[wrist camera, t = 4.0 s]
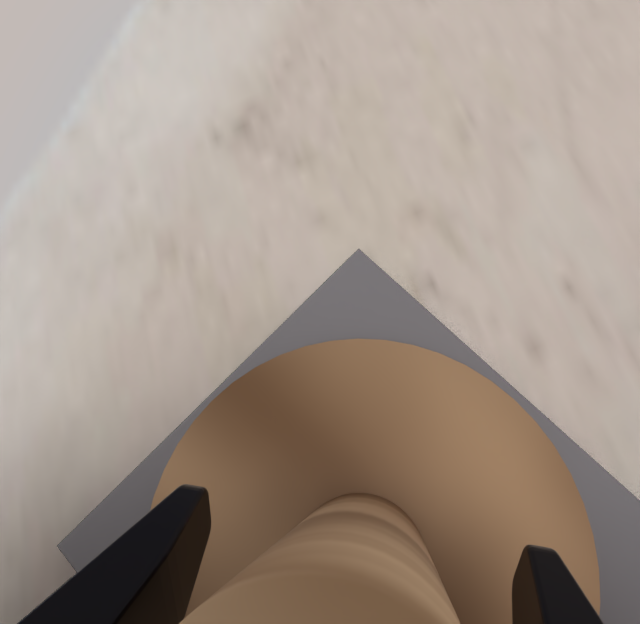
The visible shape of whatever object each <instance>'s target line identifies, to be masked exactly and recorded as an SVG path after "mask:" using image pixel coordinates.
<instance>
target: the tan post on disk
mask: <svg viewBox="0 0 640 624" xmlns="http://www.w3.org/2000/svg"><path fill="white" fill-rule="evenodd" d="M183 484H190V485H195V486H201V487H205V488H206V489H207V491H208V494H209V502H210V512H211V531H210V535H209V539H208V542H207V545H206V549H205V552H204V555H203V558H202V562H201V565H200V568H199V572H198V575H197V578H196V581H195V585H194V588H193V591H192V595H191V598H190V601H189V604H188V608H187V611H186V614H185V617H184V619H183V620H182V621H181V622H180V623H179V624H513V623H512V582H513V577H514V574H515V571H516V568H517V565H518V562H519V560H520V557H521V554H522V551H523V549H524V547H525V546H526V545H528V544H531V545H537V546H543V547H548V548H552V549H554V550H555V551H556V552H557V553H558V554H559V555H560V557H561V559H562V560H563V562H564V563H565V565H566V566H567V568H568V569H569V571H570V572H571V574H572V575H573V577H574V578H575V580H576V581H577V583H578V585H579V586H580V588H581V589H582V591H583V592H584V594H585V595H586V597H587V598H588V600H589V601H590V603H591V604H592V606H593V608H594V609H595V611H596V612H597V614H598V615H599V614H600V580H599V566H598V560H597V554H596V548H595V542H594V536H593V532H592V529H591V526H590V522H589V519H588V516H587V512H586V509H585V506H584V503H583V500H582V498H581V496H580V494H579V491H578V489H577V487H576V484H575V482H574V480H573V478H572V475H571V473H570V471H569V470H568V468H567V466H566V465H565V463H564V461H563V460H562V458H561V456H560V454H559V453H558V451H557V449H556V448H555V446H554V445H553V443H552V442H551V441H550V439H549V438H548V437H547V436H546V434H545V433H544V432H543V430H542V429H541V428H540V426H539V425H538V424H537V423H536V421H535V420H534V419H533V418H532V417H531V416H530V415H529V414H528V413H527V412H526V411H525V410H524V409H523V408H522V407H521V406H520V405H519V404H518V403H517V402H516V401H515V400H514V399H513V398H512V397H511V396H509V395H508V394H507V393H506V392H504V391H503V390H502V389H501V388H499V387H498V386H497V385H496V384H494V383H493V382H492V381H491V380H489V379H487V378H486V377H484V376H483V375H481V374H479V373H478V372H476V371H474V370H473V369H471V368H470V367H468V366H466V365H464V364H462V363H460V362H458V361H456V360H453V359H451V358H449V357H447V356H445V355H442V354H440V353H437V352H434V351H431V350H428V349H425V348H421V347H418V346H415V345H411V344H405V343H400V342H394V341H389V340H377V339H347V340H334V341H328V342H323V343H318V344H313V345H309V346H304V347H301V348H299V349H296V350H293V351H290V352H287V353H284V354H281V355H279V356H277V357H275V358H273V359H271V360H269V361H267V362H265V363H263V364H261V365H259V366H257V367H255V368H254V369H252V370H251V371H249V372H248V373H246V374H245V375H243V376H242V377H240V378H239V379H237V380H236V381H234V382H233V383H232V384H231V385H229V386H228V387H227V388H226V389H225V390H224V391H222V392H221V393H220V394H219V395H218V396H217V397H216V398H214V399H213V400H212V401H211V402H210V403H209V405H208V406H207V407H206V408H205V409H204V410H203V411H202V412H201V414H200V415H199V416H198V417H197V418H196V419H195V420H194V421H193V423H192V424H191V426H190V427H189V429H188V430H187V431H186V433H185V434H184V436H183V437H182V439H181V440H180V442H179V443H178V444H177V446H176V448H175V450H174V452H173V454H172V456H171V458H170V459H169V461H168V463H167V465H166V467H165V469H164V471H163V474H162V476H161V479H160V482H159V484H158V487H157V489H156V492H155V494H154V497H153V501H152V505H151V509H150V510H152V509H153V508H154V507H155V506H156V505H157V504H159V503H160V502H161V501H162V500H163V499H164V498H166V497H167V496H168V495H169V494H170V493H172V492H173V491H174V490H175V489H176V488H177V487H179V486H181V485H183Z"/></svg>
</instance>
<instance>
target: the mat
mask: <svg viewBox="0 0 640 624" xmlns="http://www.w3.org/2000/svg"><path fill="white" fill-rule="evenodd" d="M347 339H377V340H389V341H394V342H400V343H405V344H411V345H415V346H418V347H421V348H425V349H428V350H431V351H434V352H437V353H440V354H442V355H445V356H447V357H449V358H451V359H453V360H456V361H458V362H460V363H462V364H464V365H466V366H468V367H470V368H471V369H473V370H474V371H476V372H478V373H479V374H481V375H483V376H484V377H486V378H487V379H489V380H491V381H492V382H493V383H494V384H496V385H497V386H498V387H499V388H501V389H502V390H503V391H504V392H506V393H507V394H508V395H509V396H511V397H512V398H513V399H514V400H515V401H516V402H517V403H518V404H519V405H520V406H521V407H522V408H523V409H524V410H525V411H526V412H527V413H528V414H529V415H530V416H531V417H532V418H533V419H534V420H535V421H536V423H537V424H538V425H539V426H540V428H541V429H542V430H543V432H544V433H545V434H546V436H547V437H548V438H549V439H550V441H551V442H552V443H553V445H554V446H555V448H556V449H557V451H558V453H559V454H560V456H561V458H562V460H563V461H564V463H565V465H566V466H567V468H568V470H569V471H570V473H571V475H572V478H573V480H574V482H575V484H576V487H577V489H578V491H579V494H580V496H581V498H582V500H583V503H584V506H585V509H586V512H587V516H588V519H589V522H590V526H591V529H592V532H593V536H594V542H595V548H596V554H597V560H598V566H599V580H600V614H599V617H600V618H601V620H602V621H603V623H604V624H640V500H638V499H637V498H636V497H635V496H634V495H633V494H632V493H631V492H630V491H628V490H627V489H626V488H625V487H624V486H623V485H622V484H621V483H619V482H618V481H617V480H616V479H615V478H614V477H613V476H612V475H611V474H609V473H608V472H607V471H606V470H605V469H604V468H603V467H602V466H601V465H599V464H598V463H597V462H596V461H595V460H594V459H593V458H592V457H590V456H589V455H588V454H587V453H586V452H585V451H584V450H583V449H582V448H580V447H579V446H578V445H577V444H576V443H575V442H574V441H573V440H572V439H570V438H569V437H568V436H567V435H566V434H565V433H564V432H563V431H562V430H560V429H559V428H558V427H557V426H556V425H555V424H554V423H553V422H551V421H550V420H549V419H548V418H547V417H546V416H545V415H544V414H543V413H541V412H540V411H539V410H538V409H537V408H536V407H535V406H534V405H533V404H531V403H530V402H529V401H528V400H527V399H526V398H525V397H524V396H522V395H521V394H520V393H519V392H518V391H517V390H516V389H515V388H514V387H512V386H511V385H510V384H509V383H508V382H507V381H506V380H505V379H504V378H502V377H501V376H500V375H499V374H498V373H497V372H496V371H495V370H493V369H492V368H491V367H490V366H489V365H488V364H487V363H486V362H485V361H483V360H482V359H481V358H480V357H479V356H478V355H477V354H476V353H475V352H473V351H472V350H471V349H470V348H469V347H468V346H467V345H466V344H465V343H463V342H462V341H461V340H460V339H459V338H458V337H457V336H456V335H454V334H453V333H452V332H451V331H450V330H449V329H448V328H447V327H446V326H444V325H443V324H442V323H441V322H440V321H439V320H438V319H437V318H436V317H434V316H433V315H432V314H431V313H430V312H429V311H428V310H427V309H425V308H424V307H423V306H422V305H421V304H420V303H419V302H418V301H417V300H415V299H414V298H413V297H412V296H411V295H410V294H409V293H408V292H407V291H405V290H404V289H403V288H402V287H401V286H400V285H399V284H398V283H396V282H395V281H394V280H393V279H392V278H391V277H390V276H389V275H388V274H386V273H385V272H384V271H383V270H382V269H381V268H380V267H379V266H378V265H376V264H375V263H374V262H373V261H372V260H371V259H370V258H369V257H368V256H366V255H365V254H364V253H363V252H362V251H361V250H360V249H358V250H357V251H356V252H355V253H354V254H353V255H352V256H351V257H350V258H349V259H348V260H347V261H346V262H345V263H344V264H343V265H342V266H340V267H339V268H338V269H337V270H336V271H335V272H334V273H333V274H332V275H331V276H330V277H329V278H328V279H327V280H326V281H325V282H324V283H323V284H322V285H321V286H320V287H319V288H318V289H317V290H316V291H315V292H314V293H313V294H312V295H311V296H310V297H309V298H308V299H307V300H306V301H305V302H304V303H303V304H302V305H301V306H300V307H299V308H298V309H297V310H296V311H295V312H294V313H293V314H292V315H291V316H290V317H289V318H288V319H287V320H286V321H285V322H284V323H283V324H282V325H281V326H280V327H279V328H278V329H277V330H276V331H275V332H274V333H272V334H271V335H270V336H269V337H268V338H267V339H266V340H265V341H264V342H263V343H262V344H261V345H260V346H259V347H258V348H257V349H256V350H255V351H254V352H253V353H252V354H251V355H250V356H249V357H248V358H247V359H246V360H245V361H244V362H243V363H242V364H241V365H240V366H239V367H238V368H237V369H236V370H235V371H234V372H233V373H232V374H231V375H230V376H229V377H228V378H227V379H226V380H225V381H224V382H223V383H222V384H221V385H220V386H219V387H218V388H217V389H216V390H215V391H214V392H213V393H212V394H211V395H210V396H209V397H208V398H207V399H206V400H205V401H203V402H202V403H201V404H200V405H199V406H198V407H197V408H196V409H195V410H194V411H193V412H192V413H191V414H190V415H189V416H188V417H187V418H186V419H185V420H184V421H183V422H182V423H181V424H180V425H179V426H178V427H177V428H176V429H175V430H174V431H173V432H172V433H171V434H170V435H169V436H168V437H167V438H166V439H165V440H164V441H163V442H162V443H161V444H160V445H159V446H158V447H157V448H156V449H155V450H154V451H153V452H152V453H151V454H150V455H149V456H148V457H147V458H146V459H145V460H144V461H143V462H142V463H141V464H140V465H139V466H138V467H137V468H136V469H134V470H133V471H132V472H131V473H130V474H129V475H128V476H127V477H126V478H125V479H124V480H123V481H122V482H121V483H120V484H119V485H118V486H117V487H116V488H115V489H114V490H113V491H112V492H111V493H110V494H109V495H108V496H107V497H106V498H105V499H104V500H103V501H102V502H101V503H100V504H99V505H98V506H97V507H96V508H95V509H94V510H93V511H92V512H91V513H90V514H89V515H88V516H87V517H86V518H85V519H84V520H83V521H82V522H81V523H80V524H79V525H78V526H77V527H76V528H75V529H74V530H73V531H72V532H71V533H70V534H69V535H68V536H66V537H65V538H64V539H63V540H62V541H61V542H60V543H59V544H58V545H57V547H58V548H59V549H60V551H61V552H62V553H63V555H64V556H65V557H66V559H67V560H68V561H69V563H70V564H71V565H72V567H73V568H74V569H75V571H76V572H78V571H80V570H81V569H82V568H83V567H84V566H86V565H87V564H88V563H89V562H90V561H91V560H93V559H94V558H95V557H96V556H97V555H98V554H100V553H101V552H102V551H103V550H104V549H106V548H107V547H108V546H109V545H110V544H111V543H113V542H114V541H115V540H116V539H117V538H119V537H120V536H121V535H122V534H123V533H124V532H126V531H127V530H128V529H129V528H130V527H131V526H133V525H134V524H135V523H136V522H137V521H139V520H140V519H141V518H142V517H143V516H144V515H146V514H147V513H148V512H149V511H150V509H151V505H152V501H153V497H154V494H155V492H156V489H157V487H158V484H159V482H160V479H161V476H162V474H163V471H164V469H165V467H166V465H167V463H168V461H169V459H170V458H171V456H172V454H173V452H174V450H175V448H176V446H177V444H178V443H179V442H180V440H181V439H182V437H183V436H184V434H185V433H186V431H187V430H188V429H189V427H190V426H191V424H192V423H193V421H194V420H195V419H196V418H197V417H198V416H199V415H200V414H201V412H202V411H203V410H204V409H205V408H206V407H207V406H208V405H209V403H210V402H211V401H212V400H213V399H214V398H216V397H217V396H218V395H219V394H220V393H221V392H222V391H224V390H225V389H226V388H227V387H228V386H229V385H231V384H232V383H233V382H234V381H236V380H237V379H239V378H240V377H242V376H243V375H245V374H246V373H248V372H249V371H251V370H252V369H254V368H255V367H257V366H259V365H261V364H263V363H265V362H267V361H269V360H271V359H273V358H275V357H277V356H279V355H281V354H284V353H287V352H290V351H293V350H296V349H299V348H301V347H304V346H309V345H313V344H318V343H323V342H328V341H334V340H347Z"/></svg>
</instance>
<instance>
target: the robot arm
mask: <svg viewBox="0 0 640 624" xmlns="http://www.w3.org/2000/svg"><path fill="white" fill-rule="evenodd" d="M210 531H211V512H210V502H209V494H208V491H207V489H206V488H205V487H201V486H195V485H190V484H183V485H181V486H179V487H177V488H176V489H175V490H174V491H173V492H172V493H170V494H169V495H168V496H167V497H166V498H164V499H163V500H162V501H161V502H160V503H159V504H157V505H156V506H155V507H154V508H153V509H152V510H150V511H149V512H148V513H147V514H146V515H144V516H143V517H142V518H141V519H140V520H139V521H137V522H136V523H135V524H134V525H133V526H131V527H130V528H129V529H128V530H127V531H126V532H124V533H123V534H122V535H121V536H120V537H119V538H117V539H116V540H115V541H114V542H113V543H111V544H110V545H109V546H108V547H107V548H106V549H104V550H103V551H102V552H101V553H100V554H98V555H97V556H96V557H95V558H94V559H93V560H91V561H90V562H89V563H88V564H87V565H86V566H84V567H83V568H82V569H81V570H80V571H78V572H77V573H76V574H75V575H74V576H73V577H71V578H70V579H69V580H68V581H67V582H65V583H64V584H63V585H62V586H61V587H60V588H58V589H57V590H56V591H55V592H54V593H53V594H51V595H50V596H49V597H48V598H47V599H45V600H44V601H43V602H42V603H41V604H40V605H38V606H37V607H36V608H35V609H34V610H33V611H31V612H30V613H29V614H28V615H27V616H25V617H24V618H23V619H22V620H21V621H20V622H18V623H17V624H179V623H180V622H181V621H182V620H183V619H184V617H185V614H186V611H187V608H188V604H189V601H190V598H191V595H192V591H193V588H194V585H195V581H196V578H197V575H198V572H199V568H200V565H201V562H202V558H203V555H204V552H205V549H206V545H207V542H208V539H209V535H210ZM512 623H513V624H604V623H603V621H602V620H601V618H600V617H599V615H598V614H597V612H596V611H595V609H594V608H593V606H592V604H591V603H590V601H589V600H588V598H587V597H586V595H585V594H584V592H583V591H582V589H581V588H580V586H579V585H578V583H577V581H576V580H575V578H574V577H573V575H572V574H571V572H570V571H569V569H568V568H567V566H566V565H565V563H564V562H563V560H562V559H561V557H560V555H559V554H558V553H557V552H556V551H555V550H554V549H552V548H548V547H543V546H537V545H531V544H528V545H526V546H525V547H524V549H523V551H522V554H521V557H520V560H519V562H518V565H517V568H516V571H515V574H514V577H513V582H512Z"/></svg>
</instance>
